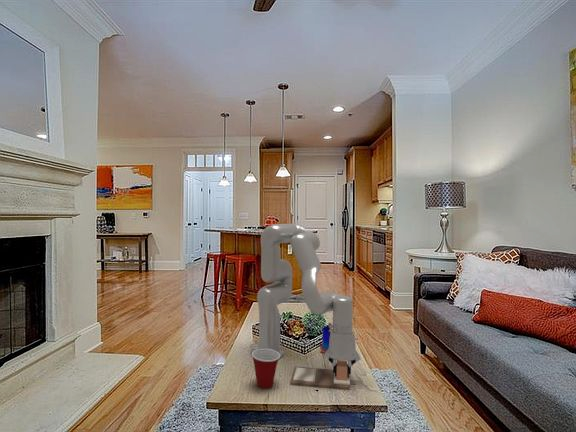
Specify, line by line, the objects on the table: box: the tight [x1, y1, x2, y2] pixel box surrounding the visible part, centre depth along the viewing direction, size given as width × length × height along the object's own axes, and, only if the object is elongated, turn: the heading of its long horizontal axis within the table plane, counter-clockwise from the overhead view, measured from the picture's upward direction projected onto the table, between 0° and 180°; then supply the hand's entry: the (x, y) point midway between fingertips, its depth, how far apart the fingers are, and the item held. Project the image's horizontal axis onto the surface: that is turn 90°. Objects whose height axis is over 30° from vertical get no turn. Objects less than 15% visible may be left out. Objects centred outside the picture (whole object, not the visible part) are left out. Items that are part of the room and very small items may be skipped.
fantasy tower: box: [318, 322, 333, 355], centre depth 164 cm, size 12×12×12 cm
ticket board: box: [289, 366, 350, 391], centre depth 135 cm, size 22×13×2 cm, turn 81°
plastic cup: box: [251, 349, 281, 390], centre depth 130 cm, size 11×11×12 cm
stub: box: [334, 360, 351, 386], centre depth 134 cm, size 6×10×6 cm, turn 171°
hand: (341, 374), depth 134 cm, fingers closed on stub, 4 cm apart
